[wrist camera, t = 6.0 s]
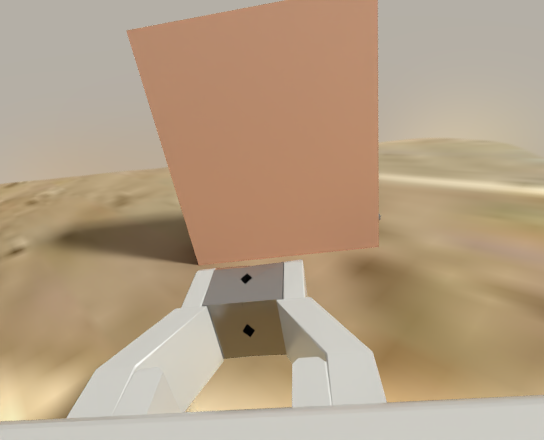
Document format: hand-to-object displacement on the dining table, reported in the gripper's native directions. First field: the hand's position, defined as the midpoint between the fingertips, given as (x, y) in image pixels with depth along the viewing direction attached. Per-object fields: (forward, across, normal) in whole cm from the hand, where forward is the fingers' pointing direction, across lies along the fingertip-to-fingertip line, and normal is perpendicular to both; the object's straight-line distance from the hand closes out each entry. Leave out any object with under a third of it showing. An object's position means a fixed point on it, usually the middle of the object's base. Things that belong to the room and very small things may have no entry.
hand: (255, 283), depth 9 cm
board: (+12, 0, -6) cm, 13 cm away
